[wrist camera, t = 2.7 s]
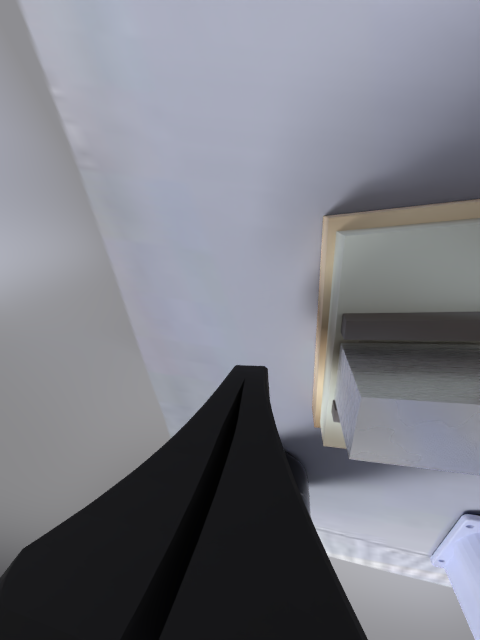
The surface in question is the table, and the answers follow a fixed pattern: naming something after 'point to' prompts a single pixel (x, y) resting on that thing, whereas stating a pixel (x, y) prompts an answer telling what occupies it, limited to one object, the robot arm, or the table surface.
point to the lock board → (394, 287)
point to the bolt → (411, 404)
